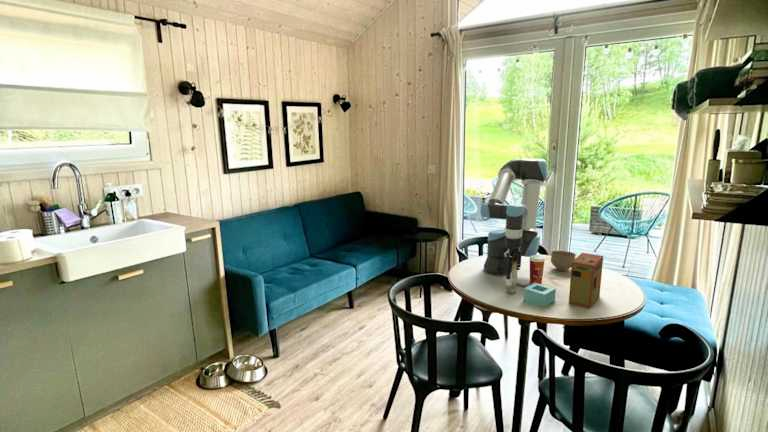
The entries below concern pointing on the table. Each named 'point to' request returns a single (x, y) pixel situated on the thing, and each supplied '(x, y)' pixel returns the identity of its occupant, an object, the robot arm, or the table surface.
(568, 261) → the bowl
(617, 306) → the table surface
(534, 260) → the paper cup
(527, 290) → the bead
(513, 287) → the wooden dowel roller
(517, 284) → the brown wooden stick
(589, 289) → the box
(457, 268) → the table surface
